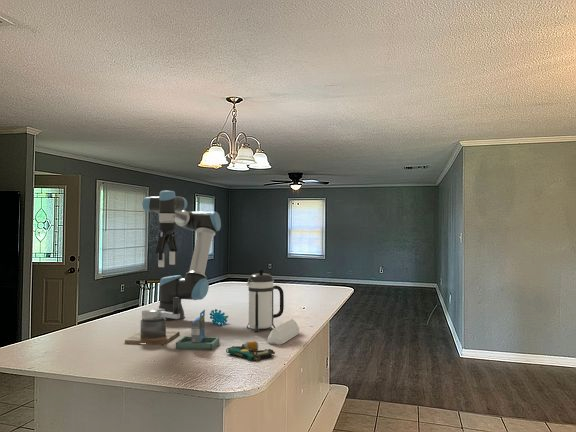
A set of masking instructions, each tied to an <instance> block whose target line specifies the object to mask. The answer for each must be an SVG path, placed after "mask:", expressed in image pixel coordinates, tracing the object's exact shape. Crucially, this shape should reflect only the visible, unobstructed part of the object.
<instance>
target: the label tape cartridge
mask: <svg viewBox="0 0 576 432" xmlns="http://www.w3.org/2000/svg"><path fill="white" fill-rule="evenodd" d="M205 312H206V309H203V310H202V311H201V312H199V317H197V318H196V319H194V320H193V321H191V324H190V325H191V326H190V327H191V330H190V332H191V335H190V337H191V342H192V343H200V342H201V341H202V340H203V338H204V337H206V336H205V334H206V333H205V332H206V331H205V327H206V326H205V323H206V322H205V319H206V318H205V317H206V315H205V314H206V313H205Z"/></svg>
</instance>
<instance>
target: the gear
mask: <svg viewBox="0 0 576 432" xmlns="http://www.w3.org/2000/svg"><path fill="white" fill-rule="evenodd" d="M228 318H229V315H226V313H225V312H222V310H221V309H219V310H218V308H217V309H216V308H215V309H211V311H210V313H209V319H210V320H211V322H212V323H213V324H214V325H216V326H221V327H222V326H224V325H226V324H227V322H228Z"/></svg>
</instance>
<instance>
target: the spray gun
mask: <svg viewBox="0 0 576 432" xmlns="http://www.w3.org/2000/svg"><path fill="white" fill-rule="evenodd" d="M225 350H226V352H225V353H226V354H230V355H233V356H237V357H240V358H243V359H246V360H248V361H251V362H254V361H256V362H260V361H261V360H264V359H269V358H272V355H275V353H276V352H275V351H274V349H271V348H268V349H267V348H265V349H264V350H263V349H260V350H259V343H258V342H257V340H254V341H246V342H244V343H242V344H241V345H240V346H234V345H232V346H230V347H228V348H226V349H225Z"/></svg>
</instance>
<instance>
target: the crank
mask: <svg viewBox="0 0 576 432" xmlns="http://www.w3.org/2000/svg"><path fill="white" fill-rule="evenodd" d="M165 317H167V318H174V319H176V320H180V319H179V318H180V313H179V297H173V313H172V312H165V309H160V308H159V307H157V308H156V307H155V308H153V307H152V308H146V309H142V310H141V320H142V321H145V322H155V321H161V320H164V319H165Z"/></svg>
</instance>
